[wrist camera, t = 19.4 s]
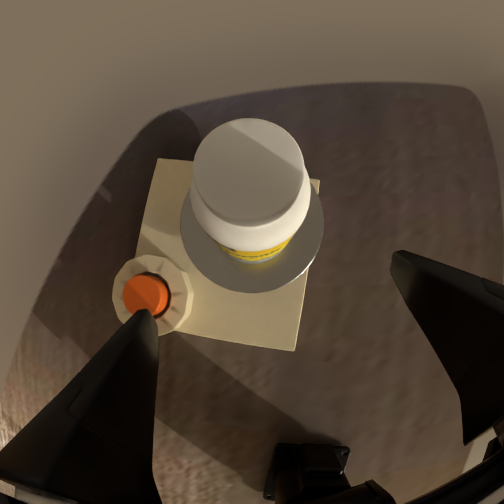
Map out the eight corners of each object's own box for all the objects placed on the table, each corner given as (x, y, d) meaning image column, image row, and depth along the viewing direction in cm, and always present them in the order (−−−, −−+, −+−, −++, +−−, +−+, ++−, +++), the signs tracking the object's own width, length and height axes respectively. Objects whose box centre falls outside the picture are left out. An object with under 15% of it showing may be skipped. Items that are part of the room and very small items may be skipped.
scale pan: (311, 303, 20) (313, 304, 20) (170, 279, 20) (167, 279, 20) (328, 168, 21) (330, 164, 21) (197, 148, 22) (196, 145, 21)
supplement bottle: (200, 249, 20) (150, 214, 10) (226, 173, 21) (202, 88, 11) (280, 273, 20) (302, 259, 10) (303, 195, 20) (337, 121, 11)
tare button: (165, 319, 21) (157, 321, 19) (129, 310, 21) (119, 312, 19) (171, 279, 21) (164, 278, 19) (135, 272, 21) (125, 271, 19)
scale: (291, 355, 23) (295, 364, 20) (124, 322, 23) (107, 326, 20) (317, 184, 24) (324, 171, 21) (156, 162, 25) (144, 148, 22)
